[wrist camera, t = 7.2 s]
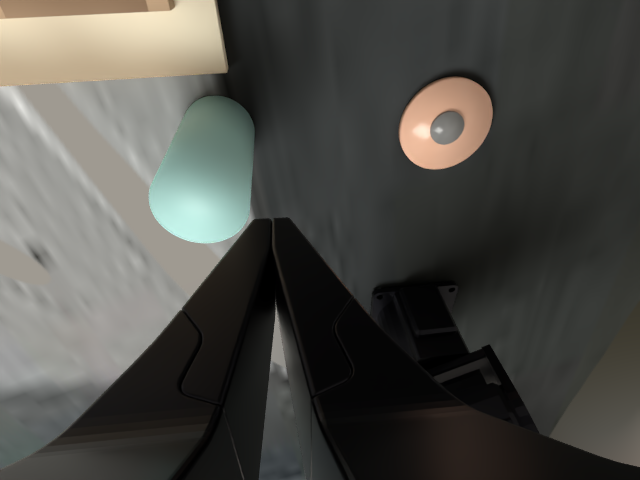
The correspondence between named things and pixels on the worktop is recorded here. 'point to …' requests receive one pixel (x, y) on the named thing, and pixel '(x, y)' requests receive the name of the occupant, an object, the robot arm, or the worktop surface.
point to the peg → (206, 173)
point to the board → (108, 40)
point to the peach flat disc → (445, 122)
